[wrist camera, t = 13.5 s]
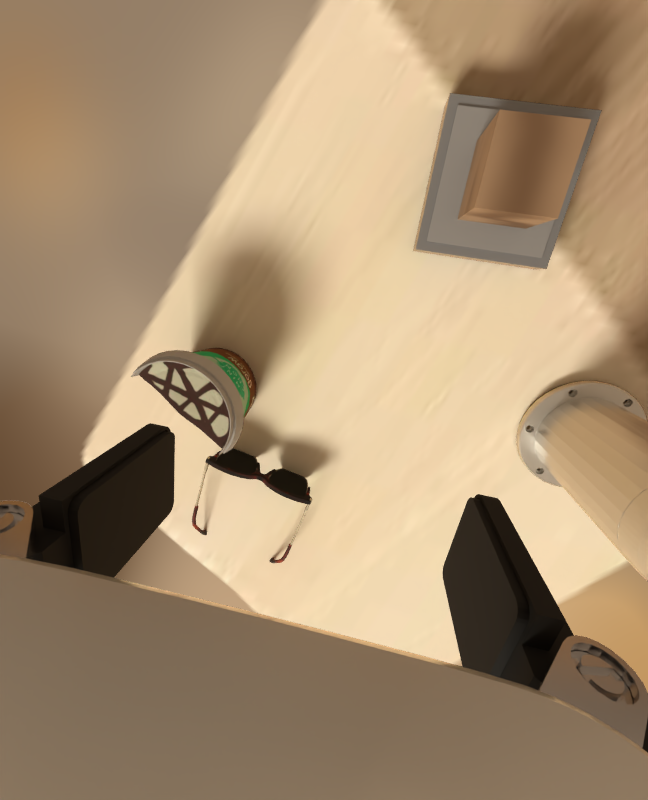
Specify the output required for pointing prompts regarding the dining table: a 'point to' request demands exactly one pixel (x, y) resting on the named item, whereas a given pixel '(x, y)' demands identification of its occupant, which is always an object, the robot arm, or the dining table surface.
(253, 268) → the dining table surface
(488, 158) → the cube
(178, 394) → the food container
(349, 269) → the dining table surface
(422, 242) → the tray
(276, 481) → the sunglasses
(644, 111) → the dining table surface
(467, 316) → the dining table surface
